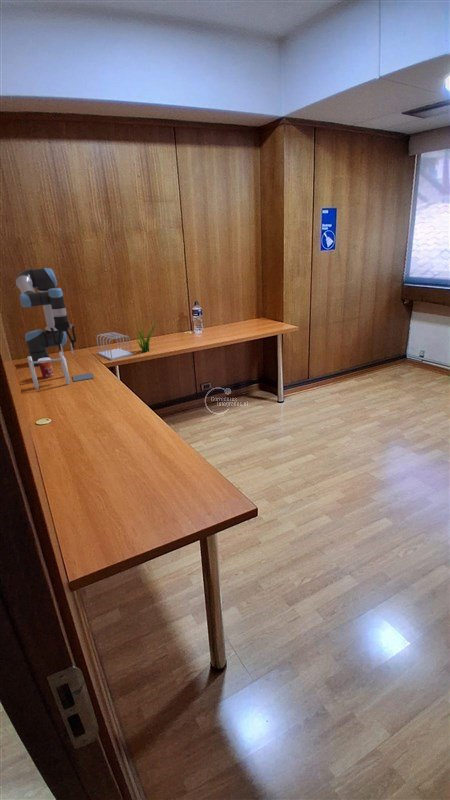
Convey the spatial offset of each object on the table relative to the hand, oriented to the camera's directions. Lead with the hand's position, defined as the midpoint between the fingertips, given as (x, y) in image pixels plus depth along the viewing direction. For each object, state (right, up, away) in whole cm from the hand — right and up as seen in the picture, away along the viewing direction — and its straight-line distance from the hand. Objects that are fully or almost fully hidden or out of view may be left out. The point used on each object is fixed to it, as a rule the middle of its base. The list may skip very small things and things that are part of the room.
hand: (68, 354), depth 240 cm
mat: (+6, -14, +8) cm, 17 cm away
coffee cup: (-18, -16, +16) cm, 29 cm away
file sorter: (+13, +5, +58) cm, 59 cm away
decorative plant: (+36, +10, +65) cm, 75 cm away
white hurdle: (-11, -17, +2) cm, 21 cm away
